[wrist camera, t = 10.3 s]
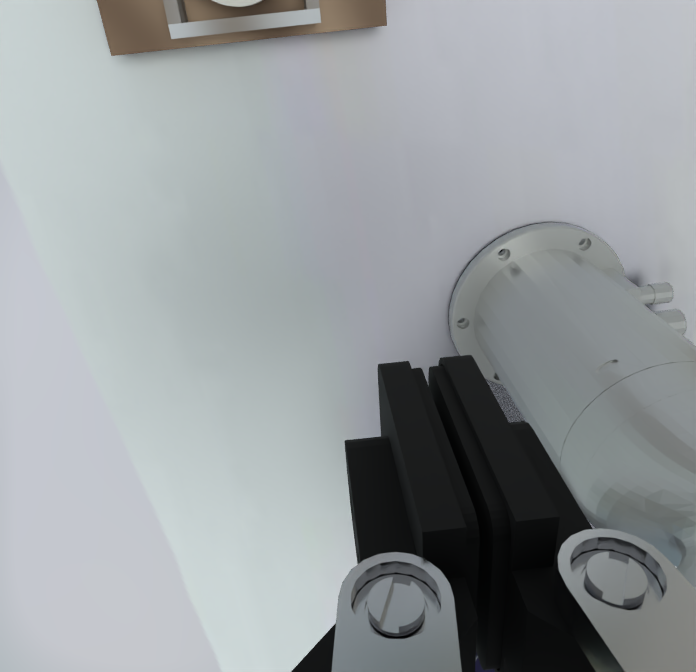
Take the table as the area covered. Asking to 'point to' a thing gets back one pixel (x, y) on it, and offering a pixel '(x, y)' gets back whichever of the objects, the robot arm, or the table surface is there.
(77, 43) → the table surface
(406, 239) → the table surface
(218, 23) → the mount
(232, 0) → the button
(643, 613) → the robot arm
